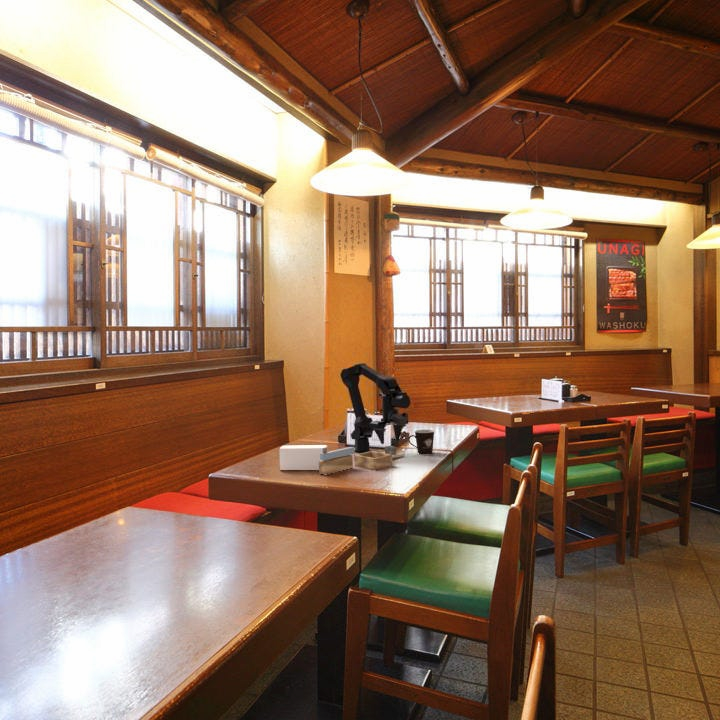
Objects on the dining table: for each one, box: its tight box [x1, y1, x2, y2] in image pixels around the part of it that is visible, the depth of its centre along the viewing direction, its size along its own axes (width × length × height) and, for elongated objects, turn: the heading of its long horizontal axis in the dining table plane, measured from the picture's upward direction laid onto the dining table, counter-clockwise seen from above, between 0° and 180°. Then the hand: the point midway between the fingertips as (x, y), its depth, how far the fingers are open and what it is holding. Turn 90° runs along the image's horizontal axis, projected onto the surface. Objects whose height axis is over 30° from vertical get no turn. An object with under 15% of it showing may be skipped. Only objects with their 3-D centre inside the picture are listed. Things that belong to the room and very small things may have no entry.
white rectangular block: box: [278, 444, 328, 470], centre depth 225 cm, size 20×6×9 cm, turn 83°
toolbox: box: [353, 450, 393, 471], centre depth 227 cm, size 12×10×4 cm
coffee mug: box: [407, 429, 435, 455], centre depth 248 cm, size 12×9×10 cm
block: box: [320, 446, 355, 460], centre depth 220 cm, size 2×16×4 cm, turn 133°
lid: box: [378, 445, 405, 460], centre depth 244 cm, size 12×10×5 cm
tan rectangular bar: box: [318, 454, 354, 476], centre depth 220 cm, size 3×15×5 cm, turn 133°
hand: (390, 442), depth 242 cm, fingers open, 9 cm apart
